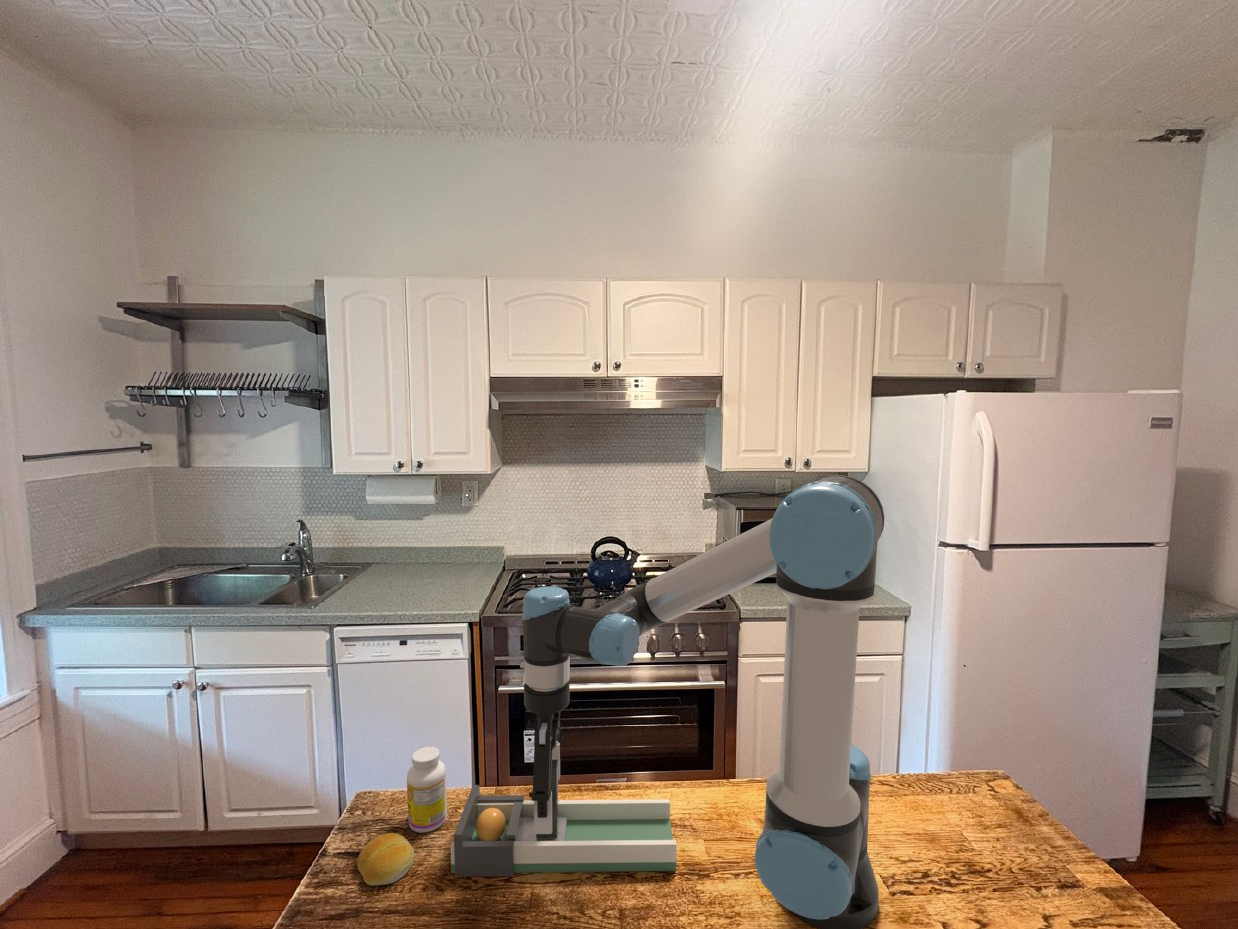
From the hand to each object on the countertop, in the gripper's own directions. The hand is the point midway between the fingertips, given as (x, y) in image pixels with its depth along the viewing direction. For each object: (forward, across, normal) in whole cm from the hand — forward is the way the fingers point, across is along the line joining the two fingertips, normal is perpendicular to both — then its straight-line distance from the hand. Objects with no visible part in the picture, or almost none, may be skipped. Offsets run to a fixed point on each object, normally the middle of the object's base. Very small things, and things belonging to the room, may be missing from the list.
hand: (548, 803), depth 98 cm
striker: (+6, 0, -2) cm, 6 cm away
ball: (+4, 0, -10) cm, 10 cm away
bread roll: (+8, +4, -26) cm, 28 cm away
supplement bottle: (+8, -6, -22) cm, 25 cm away
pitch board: (+8, 0, +3) cm, 8 cm away
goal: (+8, 0, -9) cm, 12 cm away
